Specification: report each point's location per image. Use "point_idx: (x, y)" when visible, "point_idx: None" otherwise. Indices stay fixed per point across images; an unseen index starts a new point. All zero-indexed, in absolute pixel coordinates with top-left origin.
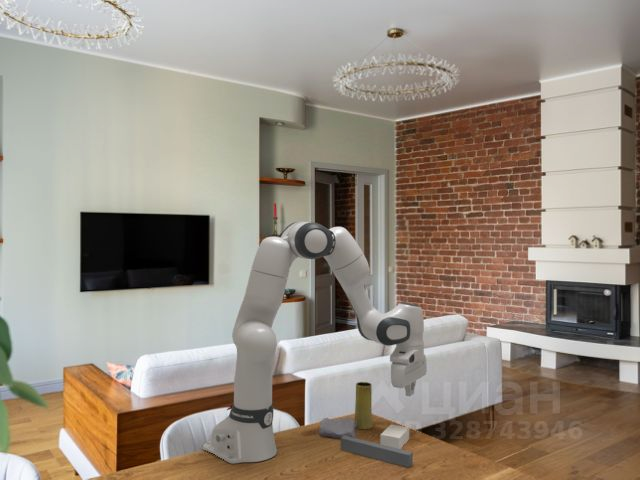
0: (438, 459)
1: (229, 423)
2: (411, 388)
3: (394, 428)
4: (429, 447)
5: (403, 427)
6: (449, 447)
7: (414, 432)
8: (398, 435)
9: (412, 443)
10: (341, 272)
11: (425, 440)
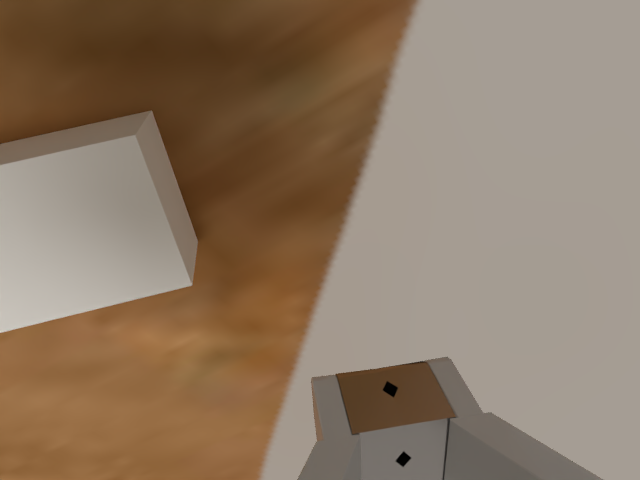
0: (69, 471)
1: None
2: (451, 467)
3: (71, 214)
4: (175, 378)
5: (157, 254)
6: (253, 433)
7: (338, 203)
8: None
9: None
10: None
11: (256, 316)
